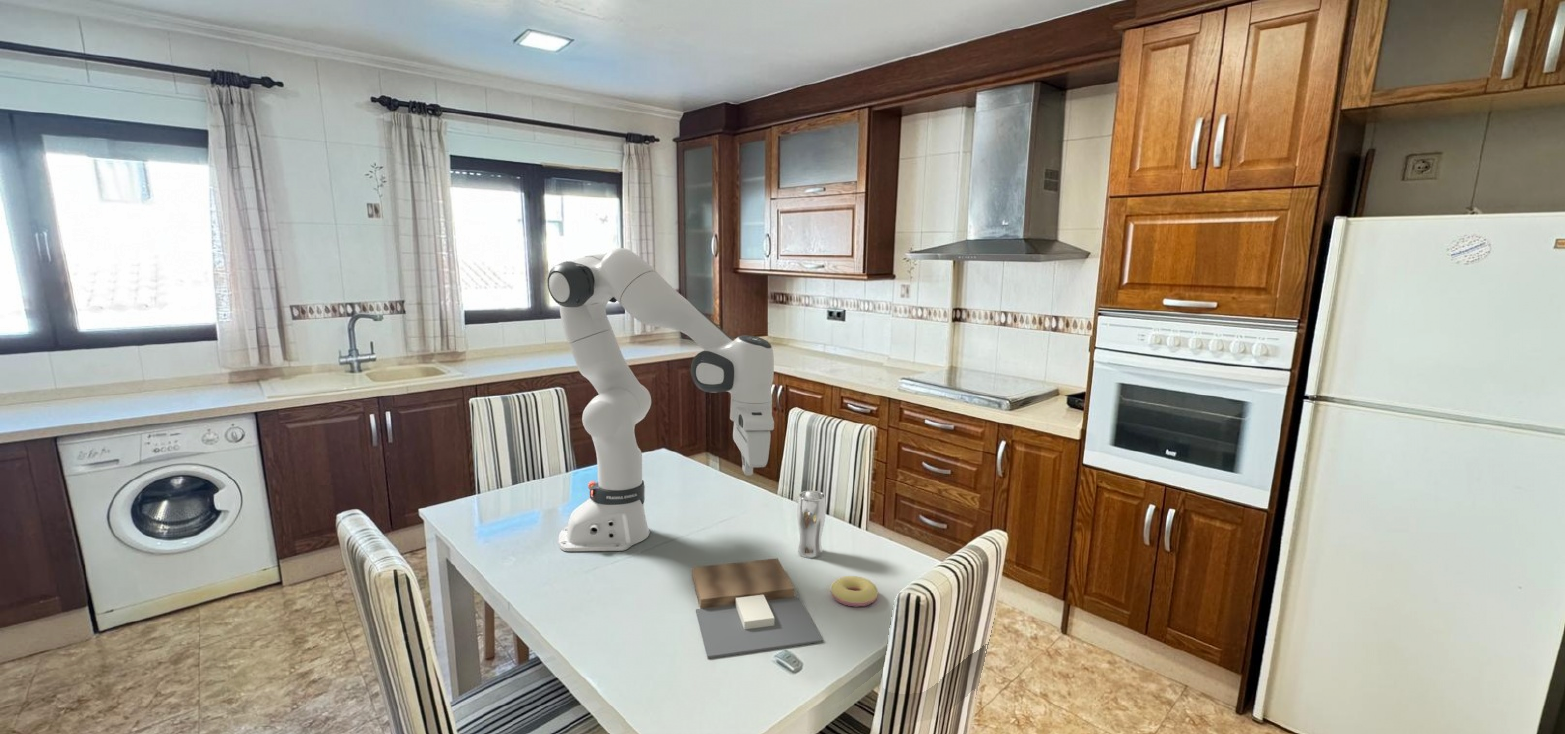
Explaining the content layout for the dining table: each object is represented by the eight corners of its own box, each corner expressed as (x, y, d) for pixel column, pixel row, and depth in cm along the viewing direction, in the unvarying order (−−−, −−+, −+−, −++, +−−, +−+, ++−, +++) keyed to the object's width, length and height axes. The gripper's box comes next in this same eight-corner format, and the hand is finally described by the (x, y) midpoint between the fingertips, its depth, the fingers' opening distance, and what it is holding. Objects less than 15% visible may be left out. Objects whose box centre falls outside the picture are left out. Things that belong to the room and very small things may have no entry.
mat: (707, 658, 114) (707, 656, 114) (695, 611, 129) (695, 608, 129) (822, 642, 120) (822, 639, 120) (798, 598, 135) (798, 596, 135)
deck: (700, 610, 130) (700, 599, 129) (692, 577, 143) (692, 567, 143) (794, 599, 135) (794, 588, 135) (777, 568, 148) (777, 558, 148)
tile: (744, 629, 123) (744, 621, 122) (735, 604, 131) (735, 597, 131) (774, 625, 124) (774, 617, 124) (763, 601, 133) (763, 594, 133)
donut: (834, 594, 142) (830, 611, 133) (832, 574, 142) (827, 589, 133) (879, 592, 140) (877, 609, 131) (877, 572, 140) (875, 587, 131)
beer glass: (791, 554, 155) (792, 496, 153) (803, 544, 161) (805, 488, 159) (816, 561, 152) (819, 502, 150) (828, 550, 158) (830, 493, 156)
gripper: (728, 400, 145) (725, 458, 147) (745, 424, 125) (741, 490, 128) (755, 400, 146) (751, 457, 149) (776, 424, 127) (772, 489, 129)
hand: (747, 473), depth 138 cm, fingers closed
